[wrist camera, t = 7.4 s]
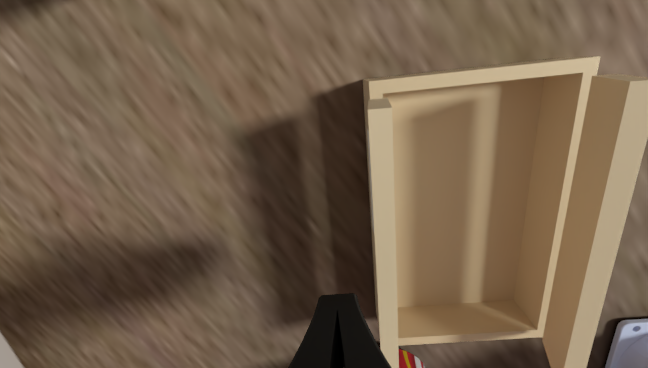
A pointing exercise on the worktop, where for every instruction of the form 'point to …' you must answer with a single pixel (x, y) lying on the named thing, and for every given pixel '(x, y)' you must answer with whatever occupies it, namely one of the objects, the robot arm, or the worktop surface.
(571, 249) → the flap
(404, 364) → the soda can
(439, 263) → the carton
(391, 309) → the flap
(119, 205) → the worktop surface
